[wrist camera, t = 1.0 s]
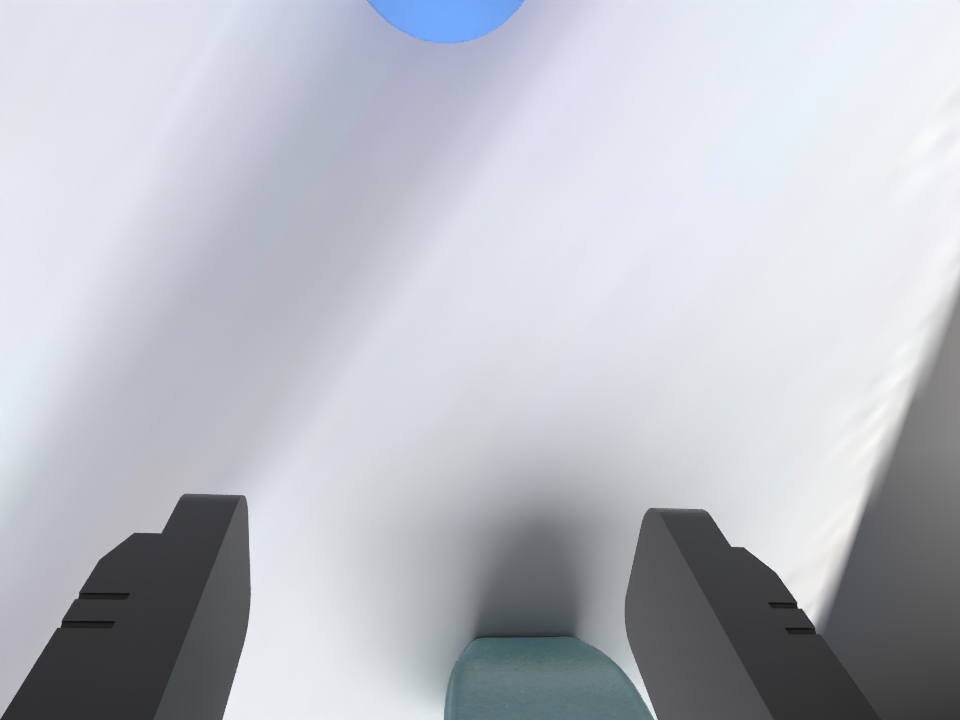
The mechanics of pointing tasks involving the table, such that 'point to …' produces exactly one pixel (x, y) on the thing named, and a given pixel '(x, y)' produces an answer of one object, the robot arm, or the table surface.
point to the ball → (446, 17)
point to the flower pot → (540, 682)
